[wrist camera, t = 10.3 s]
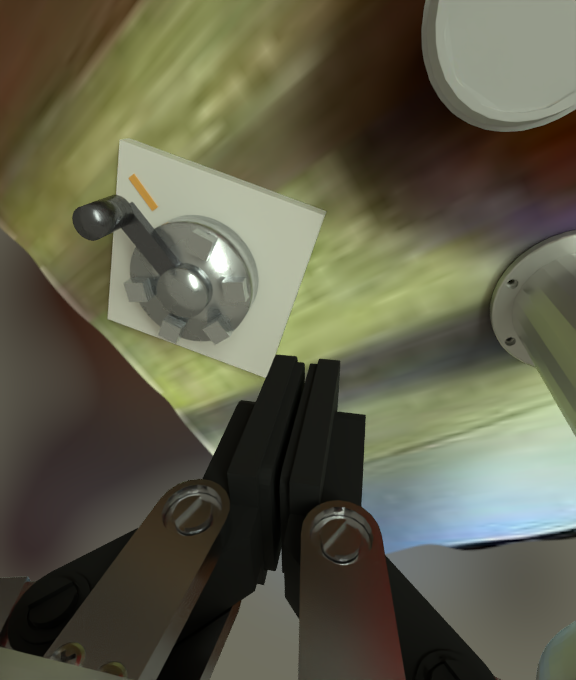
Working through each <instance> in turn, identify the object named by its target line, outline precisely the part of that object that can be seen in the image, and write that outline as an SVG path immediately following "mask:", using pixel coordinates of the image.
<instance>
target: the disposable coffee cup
mask: <svg viewBox="0 0 576 680" xmlns="http://www.w3.org/2000/svg"><path fill="white" fill-rule="evenodd" d="M421 34H422V51H423V59H424V63H425V67H426V70H427V73H428V77H429V80H430V82H431V84H432V86H433V88H434V90H435V91H436V93H437V95H438V97H439V98H440V100H441V101H442V102H443V103H444V104H445V105H446V107H447V108H448V109H449V110H450V111H451V112H452V113H453V114H455V115H456V116H457V117H459V118H460V119H462V120H464V121H465V122H467V123H468V124H471V125H474V126H477V127H480V128H483V129H485V130H493V131H501V132H508V131H523V130H527V129H531V128H534V127H538V126H542V125H545V124H547V123H550V122H552V121H554V120H557V119H559V118H561V117H563V116H564V115H566V114H568V113H570V112H571V111H573V110H575V109H576V0H426V2H425V6H424V13H423V22H422V30H421Z"/></svg>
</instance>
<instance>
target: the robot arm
mask: <svg viewBox="0 0 576 680" xmlns="http://www.w3.org/2000/svg"><path fill="white" fill-rule="evenodd" d="M512 279H513V281H512V282H510V283H508V281H510V280H512ZM490 320H491V325H492V329H493V331H494V333H495V335H496V338H497V339H498V341H499V343H500V344H501V346H502V347H503V348H504V349H505V350H506V351H507V352H508V353H509V354H510V355H511V356H513V357H514V358H516V359H518V360H519V361H521V362H523V363H526V364H528V365H531V366H534V367H536V369H537V370H538V372H539V374H540V375H541V377H542V379H543V381H544V382H545V384H546V386H547V388H548V389H549V391H550V393H551V395H552V396H553V398H554V400H555V402H556V403H557V405H558V407H559V409H560V410H561V412H562V414H563V416H564V417H565V419H566V421H567V423H568V424H569V426H570V428H571V430H572V431H573V433H574V435H575V436H576V230H574V231H568V232H564V233H562V234H559V235H556V236H553V237H550V238H548V239H546V240H544V241H542V242H540V243H538V244H536V245H534V246H533V247H531V248H530V249H528V250H527V251H526V252H524V253H523V254H522V255H520V256H519V257H518V258H517V259H516V260H515V261H514V262H513V263H512V264H511V265H510V266H509V267H508V268H507V269H506V271H505V272H504V274H503V275H502V276H501V278H500V279H499V281H498V283H497V285H496V287H495V289H494V292H493V295H492V299H491V303H490ZM509 337H510V338H509ZM507 338H508V339H507ZM339 376H340V361H338V360H328V359H319V361H318V364H310V366H309V370H308V374H307V377H306V381H305V364H304V363H301V362H298V360H297V357H296V356H286V355H275V357H274V359H273V362H272V364H271V367H270V369H269V372H268V374H267V376H266V379H265V381H264V384H263V386H262V388H261V391H260V393H259V396H258V398H257V401H256V402H251V401H242V400H241V401H240V402H239V403H238V405H237V406H236V409H235V411H234V413H233V415H232V417H231V419H230V421H229V424H228V426H227V428H226V430H225V432H224V434H223V436H222V438H221V441H220V443H219V445H218V447H217V449H216V451H215V453H214V455H213V458H212V460H211V462H210V464H209V466H208V468H207V470H206V473H205V475H204V477H203V479H194V480H188V481H185V482H182V483H179V484H177V485H176V486H174V487H173V488H171V489H170V490H168V491H167V492H166V493H165V494H164V495H163V496H162V497H161V498H160V500H159V501H158V502H157V504H156V505H155V506H154V508H153V509H152V510H151V512H150V513H149V514H148V516H147V517H146V519H145V520H144V521H143V523H142V524H141V525H140V526H139V528H137V529H135V530H133V531H131V532H129V533H127V534H125V535H123V536H121V537H119V538H117V539H115V540H113V541H111V542H109V543H107V544H105V545H103V546H101V547H100V548H98V549H96V550H94V551H92V552H90V553H88V554H86V555H84V556H82V557H80V558H78V559H76V560H74V561H72V562H70V563H68V564H66V565H64V566H62V567H60V568H58V569H56V570H54V571H52V572H50V573H49V574H47V575H46V576H44V577H42V578H41V579H39V580H38V581H30V579H29V577H27V576H26V577H7V578H0V680H210V678H211V675H212V673H213V670H214V668H215V666H216V663H217V661H218V659H219V656H220V654H221V652H222V649H223V647H224V645H225V642H226V640H227V638H228V635H229V633H230V631H231V628H232V626H233V624H234V621H235V619H236V617H237V614H238V612H239V608H240V605H241V600H242V599H243V598H245V597H246V596H248V595H249V594H251V593H252V592H254V591H255V588H256V585H257V584H261V585H264V583H265V579H266V575H267V570H271V571H276V568H277V564H278V560H279V556H280V551H281V549H282V572H283V573H284V578H285V598H286V599H287V601H288V602H289V604H290V605H291V607H292V609H293V610H294V612H295V613H296V615H297V616H298V618H299V663H298V680H501V679H499V678H497V677H495V676H494V675H493V674H492V673H491V671H490V670H489V669H488V667H487V666H486V665H485V664H484V662H483V661H482V660H481V659H480V658H479V657H478V656H477V655H476V654H475V652H474V651H473V650H472V649H471V648H470V647H469V646H468V645H467V644H466V643H465V642H464V640H463V639H462V638H461V637H460V636H459V635H458V634H457V633H456V632H455V631H454V630H453V628H452V627H451V626H450V625H449V624H448V623H447V622H446V621H445V620H444V619H443V618H442V617H441V615H440V614H439V613H438V612H437V611H436V610H435V609H434V608H433V607H432V606H431V605H430V603H429V602H428V601H427V600H426V599H425V598H424V597H423V596H422V595H421V594H420V593H419V592H418V590H417V589H416V588H415V587H414V586H413V585H412V584H411V583H410V582H409V581H408V580H407V578H405V576H404V575H403V574H402V573H401V572H400V571H399V570H398V569H397V568H396V566H395V565H394V564H393V563H392V562H391V561H390V560H389V559H388V558H387V557H386V555H385V552H384V546H383V540H382V535H381V532H380V529H379V526H378V524H377V522H376V521H375V519H374V518H373V517H372V515H371V514H370V513H368V512H367V511H366V510H365V509H363V508H362V507H361V501H362V481H363V461H364V440H365V419H366V415H362V414H353V413H345V412H337V407H338V392H339ZM536 680H576V621H574V622H573V623H572V624H570V625H569V626H567V627H565V628H564V629H562V630H561V631H560V632H559V633H558V634H556V635H555V636H554V637H553V638H552V640H551V641H550V642H549V643H548V644H547V646H546V647H545V649H544V651H543V653H542V655H541V658H540V661H539V664H538V668H537V675H536Z"/></svg>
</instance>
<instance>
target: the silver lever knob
mask: <svg viewBox="0 0 576 680" xmlns="http://www.w3.org/2000/svg"><path fill="white" fill-rule="evenodd" d="M72 219H73V224H74V227H75V229H76V230H77V232H78V233H79V234H80V235H81V236H82V237H84V238H86V239H88V240H92V241H94V240H98V239H100V238H102V237H104V236H106V235H108V234H110V233H112V232H114V231H116V230H118V229H120V228H121V229H122V230H123V231H124V232H125V234H126V235H127V236H128V237H129V238H130V240H131V241H132V242H133V243H134V245H135V246H136V247H135V249H134V251H133V254H132V257H131V262H130V279H128V280H127V281H126V282H124V287H125V290H126V293H127V297H128V300H129V302H139V303H140V305H141V307H142V308H143V310H144V311H145V312H146V313H147V315H148V316H149V317H150V318H151V319H152V320H153V321H154V322H155V323H156V324H158V325H159V326H160V330H159V333H158V335H159V336H161V337H163V338H165V339H167V340H169V341H171V342H173V343H175V344H176V343H177V342H178V341H179V339H180V338H184V339H187V340H192V341H212V342H213V343H214V344H215V345H216V344H218V343H219V342H221V341H223V340H225V339H227V338H228V337H230V336H231V334H232V332H233V331H234V330H235V329H236V328H237V327H238V326H239V325H240V323H241V322H242V321H243V319H244V317H245V316H246V314H247V313H248V311H249V309H250V308H251V306H252V304H253V303H254V301H255V298H256V295H257V291H258V282H259V280H258V271H257V266H256V263H255V260H254V257H253V255H252V253H251V251H250V250H249V248H248V246H247V245H246V243H245V242H244V241H243V240H242V239H241V237H240V236H239V235H238V234H237V233H236V232H234V231H233V230H232V229H231V228H229V227H228V226H226V225H225V224H223V223H221V222H219V221H217V220H215V219H212V218H209V217H206V216H200V215H184V216H179V217H176V218H173V219H171V220H169V221H167V222H165V223H163V224H162V225H160V226H158V227H156V228H155V229H154V228H153V227H152V226H151V224H150V223H149V222H148V220H147V219H146V218H145V217H144V215H143V214H142V213H141V212H140V210H139V209H138V208H137V206H136V205H135V204H134V203H133V202H131V203H129V202H128V201H127V200H126V199H125V198H123V197H122V196H119V195H112V196H109V197H106V198H103V199H100V200H98V201H95V202H92V203H89V204H87V205H84V206H81V207H78V208H77V209H76V210H75V211H74V213H73V217H72Z"/></svg>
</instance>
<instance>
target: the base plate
mask: <svg viewBox="0 0 576 680" xmlns="http://www.w3.org/2000/svg"><path fill="white" fill-rule="evenodd" d="M116 195H119V196H122V197H123V198H125V199H126V200H127V201H128V202H129V203H131V202H133V203H134V204H135V205H136V206H137V208H138V209H139V210H140V212H141V213H142V214H143V215H144V217H145V218H146V219H147V220H148V222H149V223H150V224H151V226H152V227H153V228H154V229H155V228H156V227H158V226H160V225H162V224H163V223H165V222H167V221H169V220H171V219H173V218H176V217H179V216H184V215H200V216H206V217H209V218H212V219H215V220H217V221H219V222H221V223H223V224H225V225H226V226H228V227H229V228H231V229H232V230H233V231H234V232H236V233H237V234H238V235H239V236H240V237H241V239H242V240H243V241H244V242H245V243H246V245H247V246H248V248H249V250H250V251H251V253H252V255H253V257H254V260H255V263H256V266H257V271H258V280H259V282H258V291H257V295H256V298H255V301H254V303H253V304H252V306H251V308H250V309H249V311H248V313H247V314H246V316H245V317H244V319H243V321H242V322H241V323H240V325H239V326H238V327H237V328H236V329H235V330H234V331H233V332H232V334H231V336H230V337H228V338H227V339H225V340H223V341H221V342H219V343H218V344H216V345H215V344H214V343H213V342H212V341H192V340H187V339H184V338H180V339H179V341H178V342H177V343H176V345H179V346H182V347H184V348H187V349H190V350H192V351H195V352H198V353H200V354H203V355H206V356H208V357H211V358H214V359H216V360H219V361H222V362H224V363H227V364H230V365H232V366H235V367H238V368H240V369H243V370H246V371H248V372H251V373H254V374H256V375H259V376H262V377H264V378H266V376H267V374H268V372H269V369H270V367H271V364H272V362H273V359H274V357H275V355H276V352H277V349H278V347H279V344H280V341H281V338H282V335H283V332H284V330H285V327H286V324H287V321H288V318H289V316H290V313H291V310H292V307H293V304H294V302H295V299H296V296H297V293H298V290H299V288H300V285H301V282H302V279H303V276H304V274H305V271H306V268H307V265H308V262H309V259H310V257H311V254H312V251H313V248H314V245H315V243H316V240H317V237H318V234H319V231H320V229H321V226H322V223H323V220H324V217H325V215H326V212H327V211H325V210H322V209H319V208H316V207H314V206H311V205H308V204H306V203H303V202H300V201H298V200H295V199H292V198H289V197H287V196H284V195H281V194H279V193H276V192H273V191H271V190H268V189H265V188H262V187H260V186H257V185H254V184H252V183H249V182H246V181H244V180H241V179H238V178H235V177H233V176H230V175H227V174H225V173H222V172H219V171H217V170H214V169H211V168H208V167H206V166H203V165H200V164H198V163H195V162H192V161H190V160H187V159H184V158H181V157H179V156H176V155H173V154H171V153H168V152H165V151H163V150H160V149H157V148H154V147H152V146H149V145H146V144H144V143H141V142H138V141H136V140H133V139H130V138H127V139H121V140H120V144H119V159H118V174H117V188H116ZM135 247H136V246H135V245H134V243H133V242H132V241H131V240H130V238H129V237H128V236H127V235H126V234H125V232H124V231H123V230H122V229H121V228H120V229H118V230H116V231H114V233H113V248H112V262H111V277H110V292H109V307H108V319H109V320H112V321H115V322H117V323H120V324H123V325H125V326H128V327H131V328H133V329H136V330H139V331H141V332H144V333H147V334H149V335H152V336H155V337H157V338H160V339H163V340H166V341H168V342H171V341H169V340H167V339H165V338H163V337H161V336H159V335H158V333H159V330H160V326H159V325H158V324H156V323H155V322H154V321H153V320H152V319H151V318H150V317H149V316H148V315H147V313H146V312H145V311H144V310H143V308H142V307H141V305H140V303H139V302H129V300H128V297H127V293H126V290H125V287H124V282H126V281H127V280H128V279H130V262H131V257H132V254H133V251H134V249H135ZM171 343H173V342H171ZM174 344H175V343H174Z"/></svg>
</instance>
